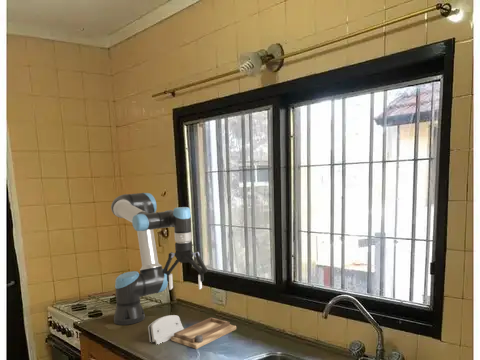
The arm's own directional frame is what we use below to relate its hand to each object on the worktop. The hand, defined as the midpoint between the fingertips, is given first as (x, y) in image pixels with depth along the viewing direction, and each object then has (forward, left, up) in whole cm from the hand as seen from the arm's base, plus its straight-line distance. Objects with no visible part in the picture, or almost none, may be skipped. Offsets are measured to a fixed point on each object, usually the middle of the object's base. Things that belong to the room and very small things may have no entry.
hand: (185, 288), depth 183 cm
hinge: (-6, -8, -21) cm, 23 cm away
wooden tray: (+7, +3, -21) cm, 22 cm away
